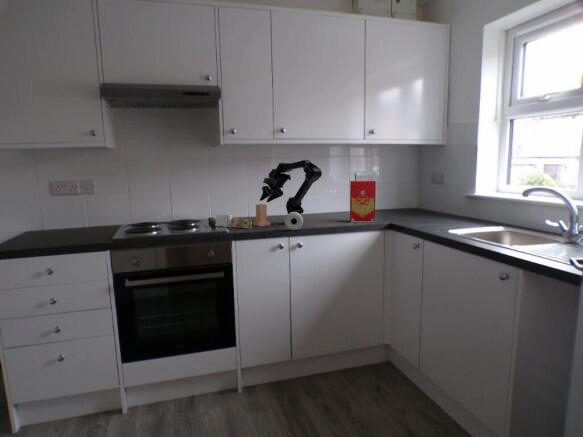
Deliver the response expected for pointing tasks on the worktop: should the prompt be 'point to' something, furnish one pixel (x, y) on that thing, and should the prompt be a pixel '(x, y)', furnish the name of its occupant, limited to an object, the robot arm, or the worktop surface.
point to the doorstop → (261, 215)
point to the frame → (224, 220)
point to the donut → (291, 216)
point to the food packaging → (362, 200)
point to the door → (242, 223)
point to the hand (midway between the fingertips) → (263, 201)
